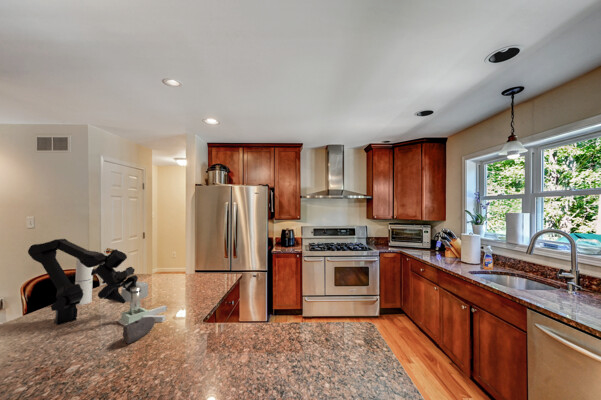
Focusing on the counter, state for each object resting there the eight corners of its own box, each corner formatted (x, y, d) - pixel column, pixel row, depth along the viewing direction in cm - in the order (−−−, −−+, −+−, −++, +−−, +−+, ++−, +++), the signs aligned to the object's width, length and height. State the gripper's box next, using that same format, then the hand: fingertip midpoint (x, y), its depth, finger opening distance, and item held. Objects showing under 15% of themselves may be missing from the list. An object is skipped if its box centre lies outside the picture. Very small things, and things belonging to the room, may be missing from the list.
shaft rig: (135, 332, 100) (135, 322, 100) (117, 321, 110) (118, 313, 110) (179, 315, 116) (179, 307, 116) (160, 307, 125) (161, 300, 126)
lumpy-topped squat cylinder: (150, 295, 145) (150, 280, 145) (129, 303, 132) (130, 287, 133) (137, 293, 148) (137, 279, 148) (115, 301, 135) (116, 285, 136)
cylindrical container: (70, 304, 131) (73, 257, 132) (86, 299, 138) (88, 255, 139) (80, 305, 129) (82, 258, 130) (94, 301, 136) (96, 256, 137)
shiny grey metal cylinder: (129, 321, 108) (130, 289, 109) (129, 318, 112) (130, 287, 112) (140, 318, 111) (141, 287, 111) (140, 315, 114) (140, 285, 115)
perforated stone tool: (149, 327, 104) (150, 311, 105) (159, 328, 103) (160, 312, 103) (116, 346, 90) (117, 327, 90) (127, 347, 88) (128, 328, 89)
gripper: (106, 267, 103) (131, 293, 103) (135, 258, 122) (156, 281, 121) (86, 285, 102) (111, 312, 102) (118, 274, 121) (139, 296, 121)
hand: (131, 299), depth 112 cm, fingers open, 9 cm apart
